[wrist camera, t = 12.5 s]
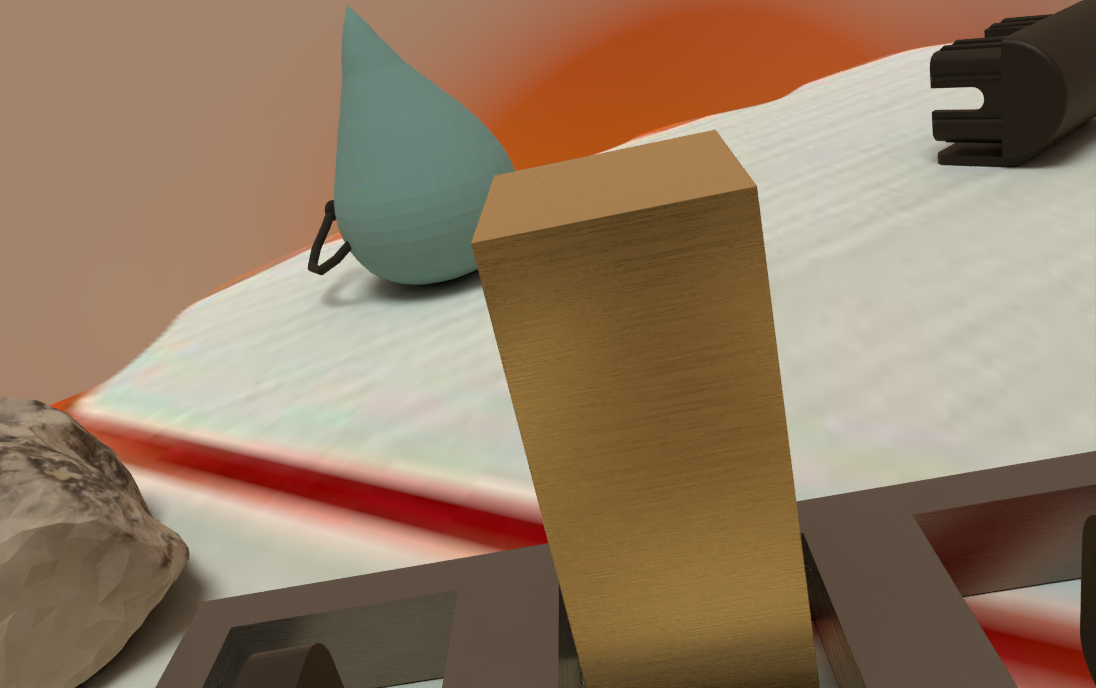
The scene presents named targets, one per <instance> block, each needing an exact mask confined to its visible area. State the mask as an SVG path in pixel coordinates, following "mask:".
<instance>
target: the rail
mask: <svg viewBox="0 0 1096 688" xmlns="http://www.w3.org/2000/svg"><path fill="white" fill-rule="evenodd" d="M796 503H797V511H798V519H799V527H800V535H801V544H802V552H803V560H804V568H805V576H806V584H807V592H808V600H809V608H810V616H811V620H813V619H814V621H815V623H816V626H817V629H818V631H819V634H820V637H821V640H822V642H823V645H824V648H825V650H826V653H827V656H828V658H829V661H830V664H831V666H832V669H833V672H834V674H835V677H836V680H837V683H838V685H839V688H1018V687H1017V685H1016V684H1015V682H1014V680H1013V679H1012V677H1011V675H1010V674H1009V672H1008V671H1007V669H1006V667H1005V666H1004V664H1003V662H1002V661H1001V659H1000V658H999V656H998V654H997V653H996V651H995V649H994V648H993V646H992V644H991V643H990V641H989V640H988V638H987V636H986V635H985V633H984V631H983V630H982V628H981V626H980V625H979V623H978V622H977V620H976V618H975V617H974V615H973V613H972V612H971V610H970V608H969V607H968V605H967V604H966V602H965V600H964V599H963V597H962V596H966V595H973V594H979V593H986V592H992V591H998V590H1005V589H1011V588H1018V587H1024V586H1030V585H1037V584H1043V583H1050V582H1056V581H1062V580H1069V579H1075V578H1081V568H1082V533H1083V526H1084V523H1085V521H1086V519H1087V518H1088V517H1089V516H1091V515H1095V514H1096V451H1093V452H1087V453H1081V454H1075V455H1069V456H1063V457H1057V458H1051V459H1045V460H1040V461H1034V462H1028V463H1022V464H1016V465H1010V466H1004V467H998V468H992V469H986V470H980V471H974V472H969V473H963V474H957V475H951V476H945V477H939V478H933V479H927V480H921V481H915V482H909V483H903V484H898V485H892V486H886V487H880V488H874V489H868V490H862V491H856V492H850V493H844V494H838V495H833V496H827V497H821V498H815V499H809V500H803V501H797V502H796ZM315 643H321V644H323V645H324V646H325V647H326V648H327V649H328V651H329V652H330V654H331V656H332V658H333V661H334V663H335V666H336V668H337V671H338V673H339V676H340V678H341V681H342V683H343V686H344V688H377V687H383V686H390V685H396V684H403V683H409V682H415V681H422V680H428V679H435V678H441V677H444V680H443V686H442V688H581V667H580V661H579V657H578V654H577V650H576V646H575V642H574V638H573V634H572V630H571V627H570V623H569V619H568V615H567V611H566V607H565V603H564V600H563V596H562V592H561V588H560V584H559V580H558V576H557V573H556V569H555V565H554V561H553V557H552V553H551V549H550V546H549V544H543V545H537V546H531V547H525V548H519V549H513V550H507V551H501V552H495V553H489V554H484V555H478V556H472V557H466V558H460V559H454V560H448V561H442V562H436V563H430V564H424V565H418V566H413V567H407V568H401V569H395V570H389V571H383V572H377V573H371V574H365V575H359V576H353V577H348V578H342V579H336V580H330V581H324V582H318V583H312V584H306V585H300V586H294V587H288V588H282V589H277V590H271V591H265V592H259V593H253V594H247V595H241V596H235V597H229V598H223V599H217V600H211V601H206V602H202V603H201V605H200V607H199V609H198V611H197V612H196V614H195V616H194V618H193V620H192V622H191V623H190V625H189V627H188V629H187V631H186V633H185V634H184V636H183V638H182V640H181V642H180V644H179V645H178V647H177V649H176V651H175V653H174V655H173V656H172V658H171V660H170V662H169V664H168V666H167V667H166V669H165V671H164V673H163V675H162V677H161V678H160V680H159V682H158V684H157V686H156V687H155V688H234V686H235V684H236V682H237V679H238V677H239V675H240V672H241V670H242V668H243V666H244V664H245V662H246V660H247V659H248V658H249V657H250V656H251V655H253V654H256V653H261V652H267V651H273V650H279V649H285V648H291V647H297V646H303V645H309V644H315Z"/></svg>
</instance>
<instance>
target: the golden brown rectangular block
mask: <svg viewBox="0 0 1096 688" xmlns="http://www.w3.org/2000/svg"><path fill="white" fill-rule="evenodd" d="M471 245H472V249H473V253H474V257H475V260H476V264H477V268H478V272H479V276H480V280H481V284H482V287H483V291H484V295H485V299H486V303H487V307H488V311H489V314H490V318H491V322H492V326H493V330H494V334H495V338H496V341H497V345H498V349H499V353H500V357H501V361H502V364H503V368H504V372H505V376H506V380H507V384H508V388H509V391H510V395H511V399H512V403H513V407H514V411H515V415H516V418H517V422H518V426H519V430H520V434H521V438H522V442H523V445H524V449H525V453H526V457H527V461H528V465H529V469H530V472H531V476H532V480H533V484H534V488H535V492H536V496H537V499H538V503H539V507H540V511H541V515H542V519H543V522H544V526H545V530H546V534H547V538H548V542H549V546H550V549H551V553H552V557H553V561H554V565H555V569H556V573H557V576H558V580H559V584H560V588H561V592H562V596H563V600H564V603H565V607H566V611H567V615H568V619H569V623H570V627H571V630H572V634H573V638H574V642H575V646H576V650H577V654H578V657H579V661H580V665H581V669H582V673H583V677H584V681H585V684H586V688H819V680H818V672H817V664H816V656H815V648H814V640H813V632H812V624H811V616H810V608H809V600H808V592H807V584H806V576H805V568H804V560H803V552H802V544H801V535H800V527H799V519H798V511H797V503H796V495H795V487H794V479H793V471H792V463H791V455H790V447H789V439H788V431H787V423H786V415H785V407H784V399H783V391H782V383H781V375H780V367H779V359H778V351H777V343H776V335H775V327H774V319H773V311H772V303H771V295H770V287H769V279H768V271H767V263H766V255H765V247H764V239H763V231H762V223H761V215H760V207H759V199H758V191H757V186H756V184H755V183H754V182H753V180H752V179H751V177H750V176H749V175H748V173H747V172H746V171H745V169H744V168H743V167H742V165H741V164H740V163H739V161H738V160H737V158H736V157H735V156H734V154H733V153H732V152H731V150H730V149H729V148H728V146H727V145H726V144H725V142H724V141H723V139H722V138H721V137H720V135H719V134H718V133H717V131H716V130H712V131H707V132H702V133H698V134H693V135H688V136H683V137H678V138H673V139H669V140H664V141H659V142H654V143H649V144H645V145H640V146H635V147H630V148H625V149H621V150H616V151H611V152H606V153H601V154H597V155H592V156H587V157H582V158H578V159H573V160H568V161H563V162H558V163H553V164H548V165H544V166H539V167H534V168H530V169H524V170H520V171H515V172H510V173H505V174H500V175H495V176H494V178H493V181H492V184H491V187H490V190H489V193H488V196H487V199H486V201H485V204H484V207H483V210H482V213H481V216H480V219H479V222H478V225H477V228H476V230H475V233H474V236H473V239H472V242H471Z"/></svg>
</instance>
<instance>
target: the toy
mask: <svg viewBox="0 0 1096 688" xmlns="http://www.w3.org/2000/svg"><path fill="white" fill-rule="evenodd" d="M342 75H343V77H342V90H341V105H340V118H339V127H338V139H337V140H338V141H337V154H336V170H335V184H334V200H331V201H329V202H328V203H327V204H326V206H325V214H326V215H325V218H324V220H323V223H322V226H321V228H320V230H319V233H318V235H317V237H316V239H315V242H314V244H313V246H312V249H311V254H310V259H309V263H308V270H309V271H311V272H314V273H316V274H319V275H323V274H325V273H326V272H328V271H329V270H330V269H332V268H333V267H335V266H336V265H337V264H339V263H340V262H341V261H342V260H343V258H344V257H345V256H346V255H347V254H348V253H349V252H351V253H352V254H353V255H354V257H355V258H356V259H357V260H358V261H359V262H360V263H361V264H362V265H363V266H364V267H365V268H366V269H368V270H369V271H370V272H371V273H373V274H375V275H377V276H378V277H380V278H383V279H386V280H389V281H392V282H395V283H402V284H414V285H420V284H431V283H437V282H443V281H448V280H451V279H455V278H458V277H461V276H463V275H466V274H468V273H471V272H473V271H475V270H477V269H478V268H477V264H476V260H475V257H474V253H473V249H472V245H471V242H472V239H473V236H474V233H475V230H476V228H477V225H478V222H479V219H480V216H481V213H482V210H483V207H484V204H485V201H486V199H487V196H488V193H489V190H490V187H491V184H492V181H493V178H494V176H495V175H500V174H505V173H510V172H515V171H514V167H513V165H512V163H511V161H510V159H509V157H508V155H507V153H506V152H505V150H504V149H503V147H502V146H501V144H500V143H499V141H498V140H497V139H496V138H495V136H494V135H493V134H492V133H491V132H490V130H489V129H488V128H487V127H486V126H485V125H484V124H483V123H482V122H481V121H480V120H479V119H478V118H477V117H476V116H475V115H474V114H472V113H471V112H470V111H469V110H468V109H466V108H465V107H464V106H463V105H462V104H461V103H460V102H458V101H457V100H456V99H454V98H453V97H451V96H450V95H449V94H447V93H446V92H445V91H443V90H442V89H441V88H439V87H438V86H437V85H435V84H434V83H433V82H431V81H430V80H429V79H427V78H426V77H425V76H423V75H422V74H421V73H419V72H418V71H417V70H415V69H414V68H413V67H412V66H410V65H409V64H407V63H406V62H405V61H404V60H402V58H401V57H400V56H399V55H398V54H397V53H396V52H395V51H394V50H393V49H392V48H391V47H390V46H389V45H388V44H387V43H386V42H384V41H383V40H382V39H381V38H380V37H379V36H378V35H377V34H376V32H375V31H374V30H373V29H372V28H371V27H370V26H369V25H368V24H367V23H366V22H365V21H364V20H363V19H362V18H361V17H360V16H359V15H358V14H356V13H355V12H354V11H353V10H352V9H351V8H350V7H349V6H347V11H346V16H345V21H344V25H343V36H342ZM334 220H337V224H338V228H339V230H340V233H341V235H342V238H343V240H344V242H345V243H344V245H343V246H342V247H341V248H340V249H339V250H338V251H337V252H336V254H335V255H334V256H333V257H331V258H330V259H328V260H327V261H326V262H324V263H323V264H321V265H320V266H319V265H317V264H318V260H319V256H320V251H321V248H322V246H323V243H324V241H325V239H326V237H327V234H328V232H329V229H330V227H331V224H332V222H333V221H334Z"/></svg>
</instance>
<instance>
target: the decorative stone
mask: <svg viewBox="0 0 1096 688" xmlns="http://www.w3.org/2000/svg"><path fill="white" fill-rule="evenodd" d="M188 560H189V549H188V547H187V545H186V544H185V542H184V541H183V540H182V538H181V537H180V536H179V534H177V533H176V532H174V531H173V530H171V529H170V528H168V527H166V526H165V525H163V524H162V523H160V522H159V521H157V520H156V519H154V518H153V517H152V516H151V513H150V511H149V509H148V507H147V505H146V503H145V501H144V499H143V497H142V495H141V493H140V491H139V488H138V486H137V484H136V482H135V481H134V479H133V477H132V475H131V473H130V472H129V471H128V470H127V468H126V467H125V466H124V465H123V464H122V462H121V460H120V459H119V457H118V456H117V454H116V453H115V451H113V450H112V449H111V448H110V447H108V446H106V445H105V444H104V443H102V442H101V441H100V440H98V439H97V438H96V437H94V436H93V435H92V434H91V433H89V432H88V431H86V430H85V429H84V428H83V427H82V426H81V425H80V424H79V423H78V422H77V421H75V420H74V419H73V418H72V417H71V416H70V415H68V414H67V413H65V412H62V411H60V410H58V409H55V408H53V407H51V406H49V405H46V404H44V403H42V402H40V401H36V400H25V399H20V398H15V397H12V398H11V397H1V398H0V688H75V687H77V686H78V685H79V684H81V683H83V682H85V681H86V680H87V679H89V678H90V677H91V676H92V675H94V674H95V673H96V672H97V671H99V670H100V669H101V668H102V667H104V666H105V665H106V664H107V663H108V662H109V661H110V660H111V659H112V658H113V657H115V656H116V655H117V654H118V653H119V652H120V651H121V650H122V649H123V647H124V645H125V644H126V642H127V641H128V639H129V638H130V636H131V635H132V634H133V633H134V632H135V631H136V630H137V629H138V628H139V627H140V626H141V625H142V624H143V622H144V620H145V619H146V617H147V616H148V614H149V612H150V611H151V610H152V609H153V608H154V607H155V606H156V605H157V604H158V603H159V602H160V601H161V600H162V598H163V597H164V595H165V594H166V592H167V591H168V589H169V588H170V586H171V585H172V583H173V582H175V581H176V580H177V579H178V577H179V575H180V573H181V571H182V570H183V568H184V567H185V565H186V564H187V562H188Z"/></svg>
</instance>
